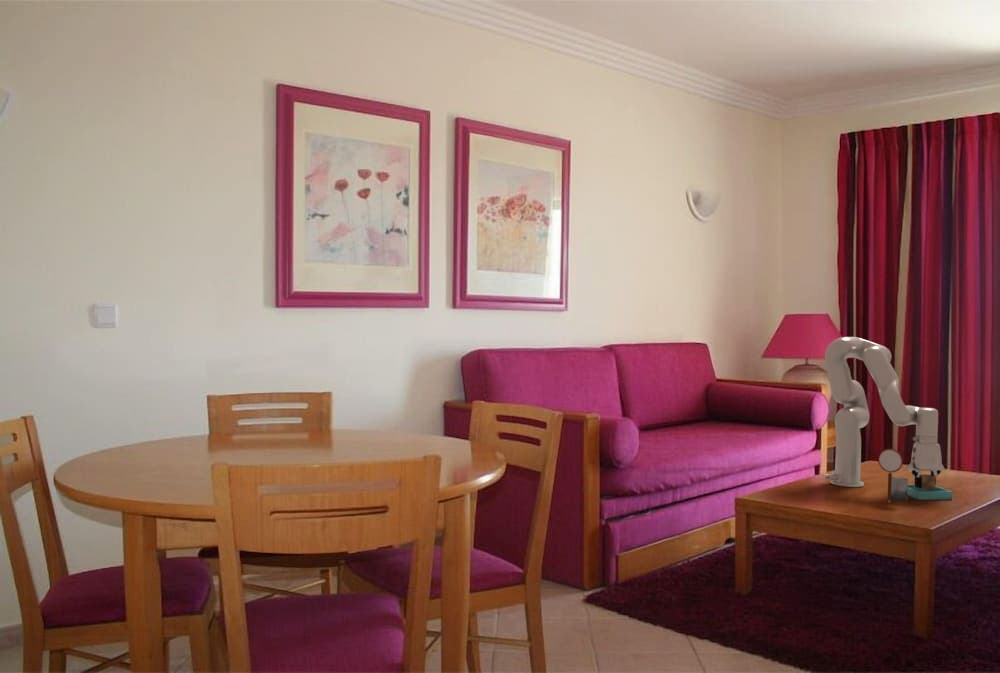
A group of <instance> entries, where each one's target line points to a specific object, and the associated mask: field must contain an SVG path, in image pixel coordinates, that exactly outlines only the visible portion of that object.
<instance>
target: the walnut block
mask: <svg viewBox="0 0 1000 673" xmlns="http://www.w3.org/2000/svg"><path fill="white" fill-rule="evenodd" d="M920 477H921V488H920V489H935V486H936V485H935V476H933V475H931V474H930V473H921V475H920ZM917 488H918V487H917Z"/></svg>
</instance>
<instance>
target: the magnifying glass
mask: <svg viewBox="0 0 1000 673" xmlns="http://www.w3.org/2000/svg"><path fill="white" fill-rule="evenodd" d="M877 462H878V465H879V466H880V468H881V469H882V470H884V471H885V472H887V474H888V475H887V476H888V477H887V502H888V503H891V501H892V500H891V484H892V477H893V474H892V473H896V472H898V471H900V469H901V468H902V466H903V463H904V459H903V456H902V455H901V453H900V452H899V451H898V450H896V449H893V448H886V449H884V450H882V451H881V452H880V453H879V454H878V459H877Z"/></svg>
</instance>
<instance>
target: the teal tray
mask: <svg viewBox="0 0 1000 673" xmlns="http://www.w3.org/2000/svg"><path fill="white" fill-rule="evenodd" d="M907 497H910V498H913V499H915V500H918V501H920V500H921V501H923V500H924V501H925V500H927V501H928V500H929V501H930V500H931V501H933V500H935V501H938V500H941V501H943V500H945V501H946V500H949V501H950V500H953V491H952V490H948V489H946V488H943V487H940V486H937V485H935V489H920V488H917V487H915V484H908V491H907Z"/></svg>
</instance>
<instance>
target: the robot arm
mask: <svg viewBox="0 0 1000 673" xmlns="http://www.w3.org/2000/svg"><path fill="white" fill-rule="evenodd" d="M848 358H850V359H851V358H854V359H857V360H860V361H863V363H864V365H865V367H866V368H867V370H868V372H869V374H870V375H871V378H872V379H873V381H874V383H875V385H876V387H877V390H878V394H879V395H878V396H879V397H880V398H879V399H880V401H881V404H882V406H883V408H884V411H885V412H886V414H887V416H888V417H889V420H891V422H892V423H893V424H895V425H896V426H898V427H905V426H911V425H915V436H913V437H912V440H913V441H914V443H913V446H912V451H911V456H910V457H911V461H910V463H909V464H908V465H907V466H906V469H907V470H908V471H909V472H910V473H911V474H912V476H913V477H914V485H915V487H918V488H921V477H920V475H921V474H922V472H923V471H929V474H930V475H933V476H935V486H937V478H938V476H939V475H940V474H941V472H943V471H944V470H945V467H944V465H943V464H942V461H943V460H942V451H941V445H940V443H938V438H939V436H938V433H939V432H938V430H939V428H938V427H939V411H938V409H936V408H935V407H934V408H933V407H920V406H915V405H909V404H908V405H906V404H905V403H904V402H903V399H902V397H901V395H900V392H899V384H900V379H899V376H898V374H897V373H896V371H895V369H894V367H893V366H892V364H891V361H892V353H891V351H890V349H889V348H887V347H886V346H884V345H882V344H878V343H876V342H872V341H870V340H866V339H863V338H861V337H857V336H843V337H842V336H841V337H838V338H836V339H834V340H833V341H832V342H831V343H829V345H828V346H827V347H826V350H825V353H824V361H825V366H826V371H827V375H828V376H827V377H828V380H829V381H828V382H829V385H830V389H831V390H830V391H831V394H832V399H833V400H834V401H835V402H836V403H839V404H841V405H843V407H842V408H840V409H839V410H838V411H837V412H836V414H835V415H834V416H835V417H834V426H835V427H834V428H835V461H834V462H835V465H834V466H835V467H834V468H835V469H834V471H832V473H830V474H826V473H825V474H823V477H822V478H823V479H824V480H830V484H832V485H835V486H840V487H846V488H847V487H848V488H860V487H861V488H862V487H864V485H865V482H863V481H861V462H862V461H861V459H862V436H861V429H862V428H864V427H866V426H868V424H869V421H870V411H869V406H868V402H867V396H866V394H865V390H864V387H863V386H862V385H861V383H860V382H859V381H857V380H855V379H854V380H853V379H852V376H851V371H850V367H849V364H848V362H847V359H848Z"/></svg>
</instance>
